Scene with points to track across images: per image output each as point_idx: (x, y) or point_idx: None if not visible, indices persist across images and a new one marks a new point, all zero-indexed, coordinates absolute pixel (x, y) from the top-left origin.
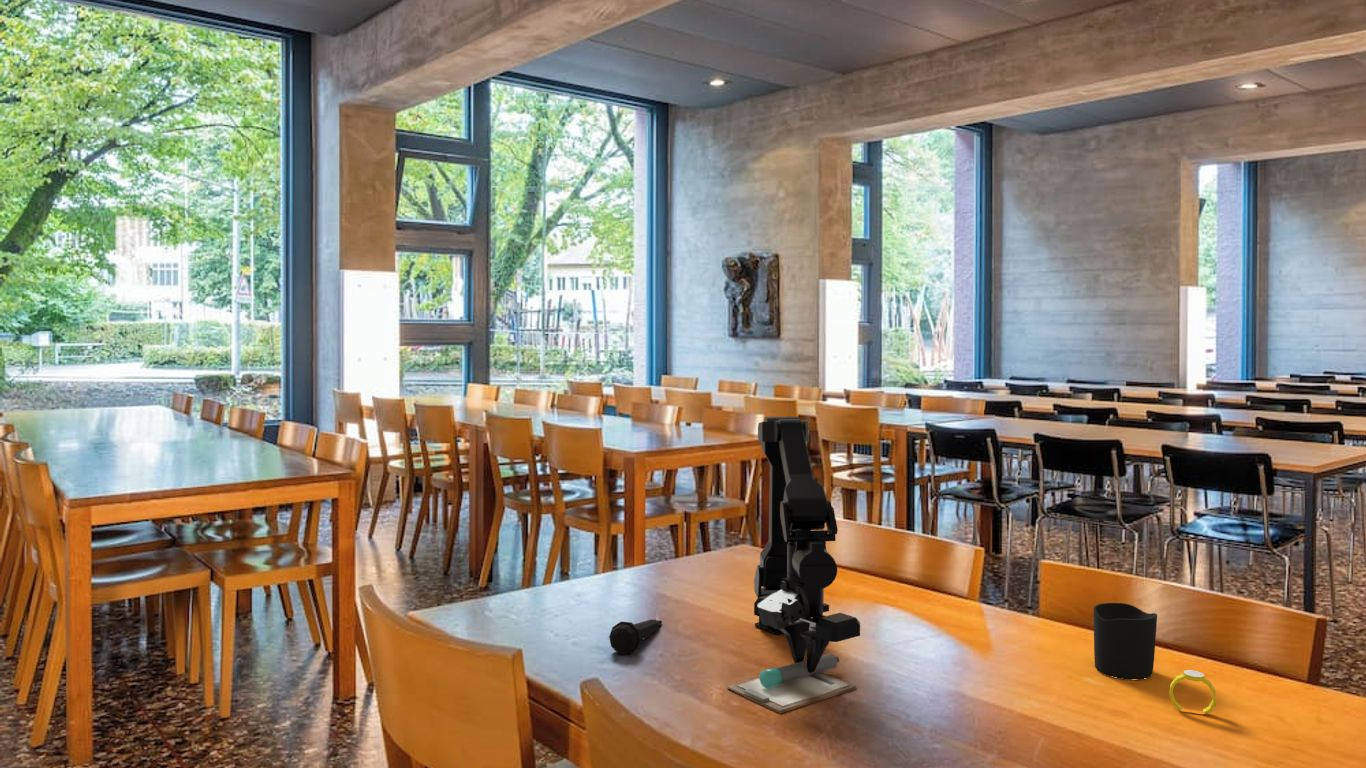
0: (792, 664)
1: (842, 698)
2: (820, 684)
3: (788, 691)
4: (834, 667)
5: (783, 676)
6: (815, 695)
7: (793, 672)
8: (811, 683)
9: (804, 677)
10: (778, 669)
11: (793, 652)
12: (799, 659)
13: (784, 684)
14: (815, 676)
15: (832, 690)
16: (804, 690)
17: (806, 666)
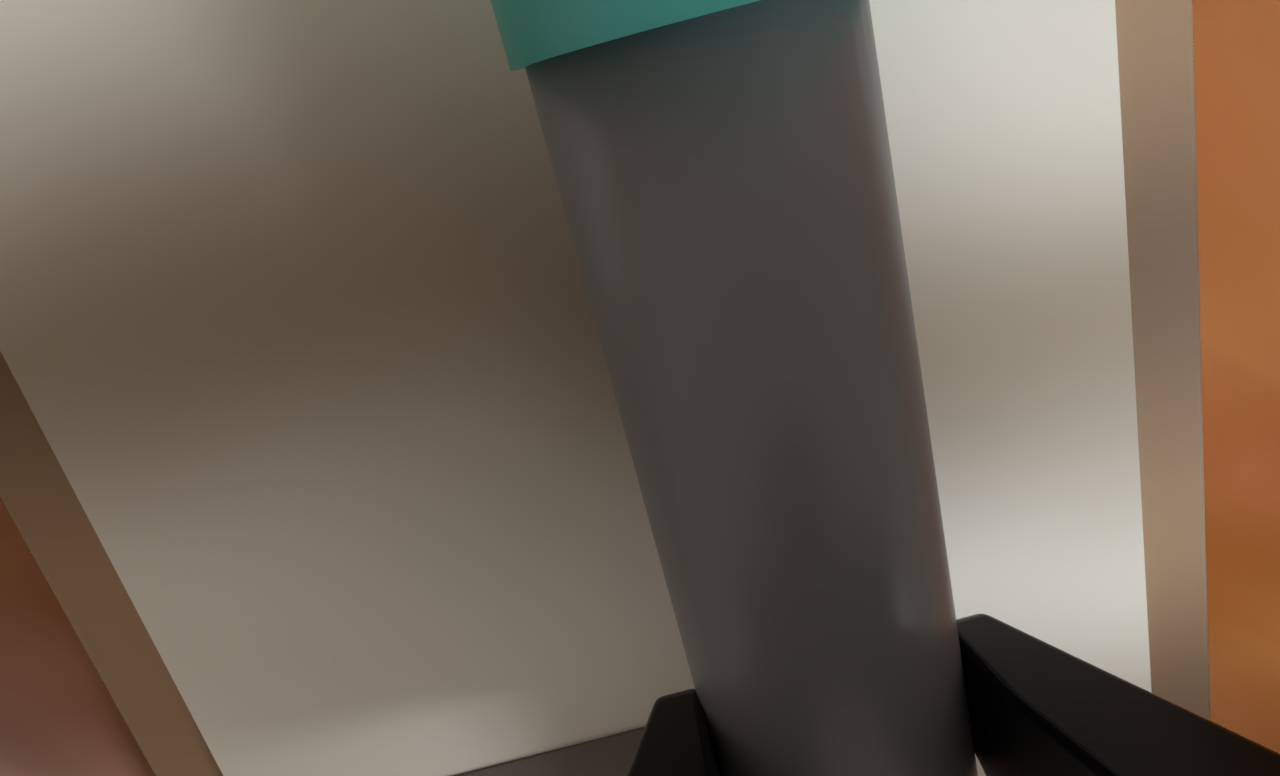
0: (821, 515)
1: (29, 736)
2: (453, 681)
3: (341, 101)
4: None
5: (539, 117)
6: (38, 431)
7: (623, 407)
8: (532, 591)
9: None
10: (627, 14)
11: (1154, 763)
12: (1013, 752)
13: None
14: None
15: (203, 728)
16: (294, 372)
17: (734, 732)
